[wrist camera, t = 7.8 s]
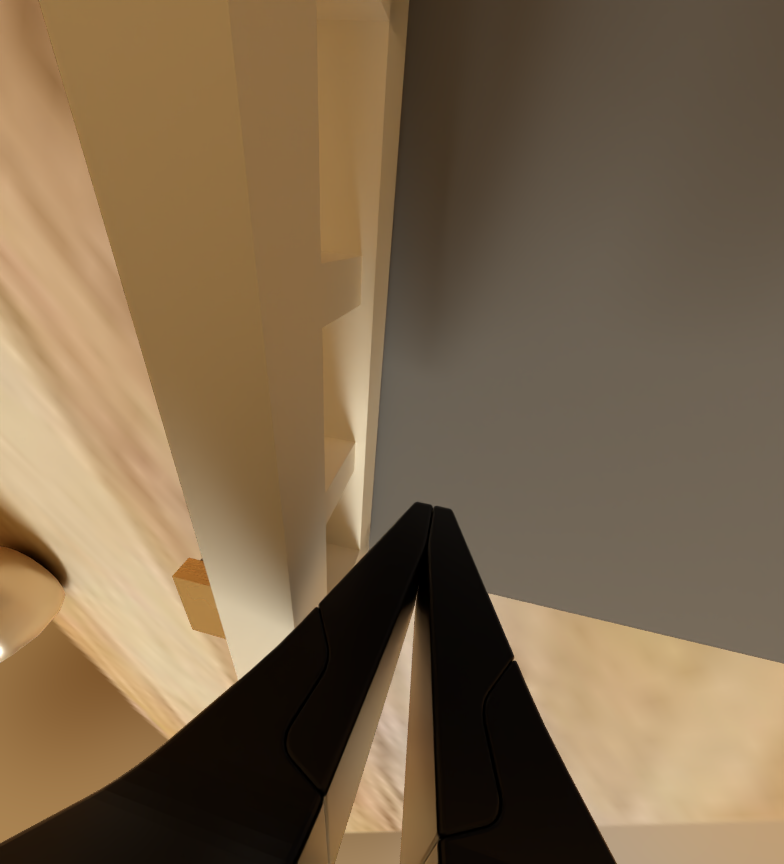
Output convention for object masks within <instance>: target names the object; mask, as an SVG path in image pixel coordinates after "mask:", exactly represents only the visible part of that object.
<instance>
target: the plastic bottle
mask: <svg viewBox="0 0 784 864" xmlns="http://www.w3.org/2000/svg"><path fill="white" fill-rule="evenodd" d="M64 598H65V592H64V589H63V587H62V586H61V584H60V583H59V582H58V580H57V579H56V578H55V577H54V576H53V575H52V574H51V573H50V572H49V571H48V570H47V569H45V568H44V567H43V566H41V565H40V564H39V563H37V562H36V561H34V560H33V559H31V558H30V557H28V556H26V555H24V554H22V553H20V552H18V551H16V550H13V549H11V548H7V547H3V546H0V663H1V662H2V661H4V660H5V659H7V658H8V657H10V656H11V655H12V654H14V653H15V652H17V651H18V650H19V649H21V648H22V647H23V646H25V645H26V644H27V643H28V642H30V641H31V640H32V639H34V638H35V637H36V636H38V635H39V634H40V633H41V632H42V631H43V630H44V629H45V627H46V626H47V625H48V624H49V623H50V622H51V621H52V619H53V618H54V617H55V616H56V615H57V614H58V612H59V611H60V609H61V606H62V604H63V601H64Z"/></svg>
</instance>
